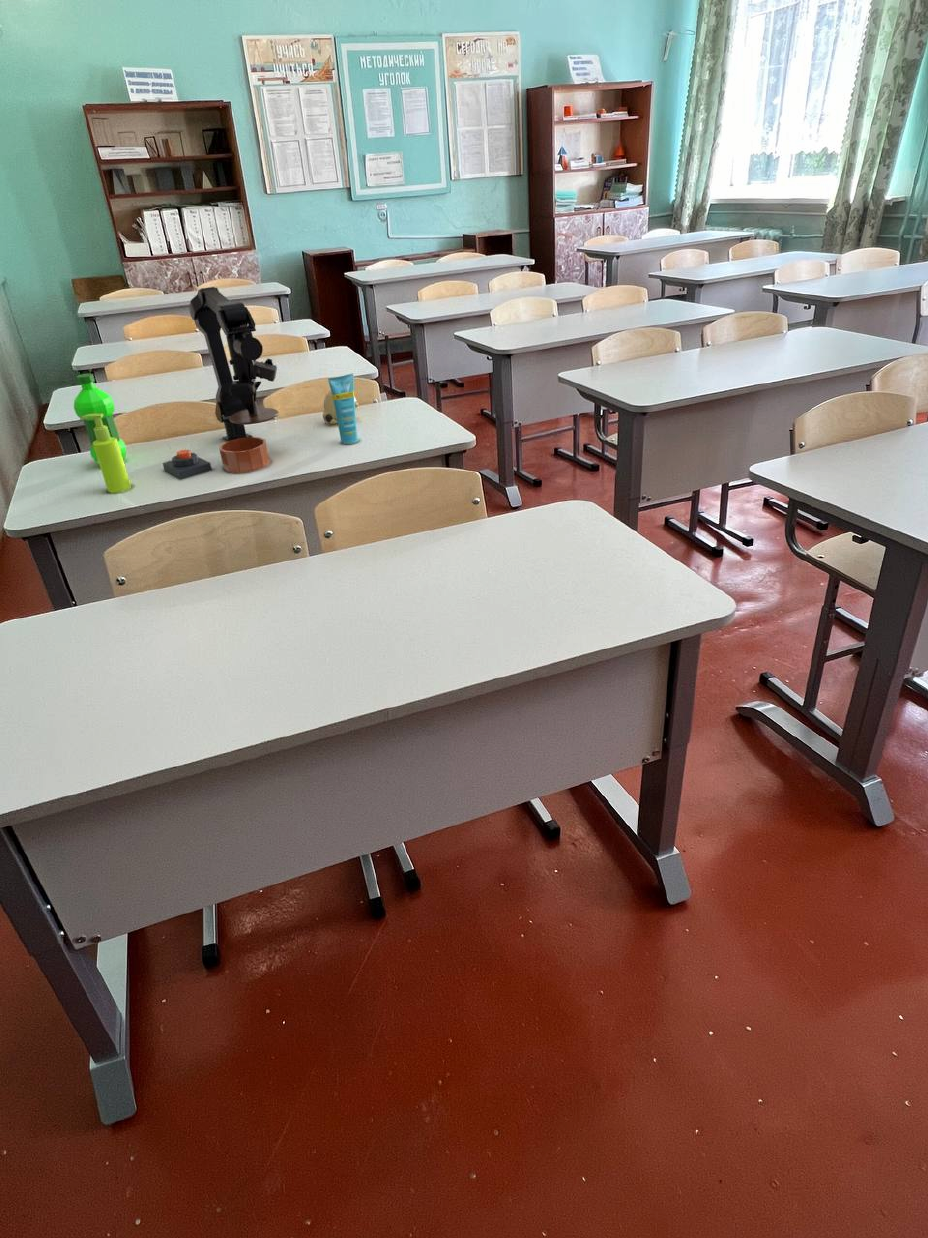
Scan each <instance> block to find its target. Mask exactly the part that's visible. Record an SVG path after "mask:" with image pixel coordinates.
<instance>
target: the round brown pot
mask: <svg viewBox="0 0 928 1238" xmlns="http://www.w3.org/2000/svg"><path fill="white" fill-rule="evenodd" d="M219 453H220V458H221V462H222V463H221V464H222V467H223V469H224V470H225V471H226V472H227V473H232V474H246V473H252V472H256V471H257V472H258V471H260V470H262V469H264V468H267V466H269V465H270V464H271V461H270V455H269V454H270V453H269V449H268V444H267V440H266V439H264V438H262V437H259V436H258V437H257V436H251V437H245V438H238V439H234V440H231V441H228V440H226V442H224V443H222V444H220V445H219Z"/></svg>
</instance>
